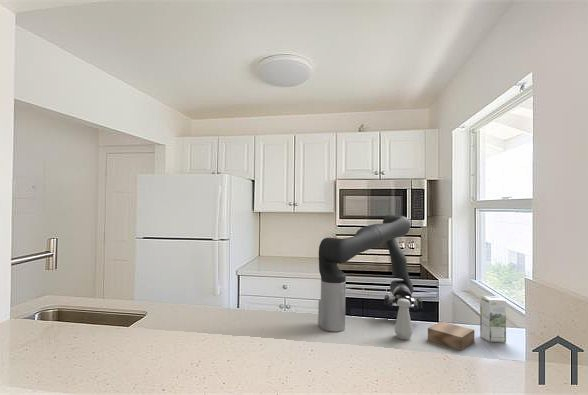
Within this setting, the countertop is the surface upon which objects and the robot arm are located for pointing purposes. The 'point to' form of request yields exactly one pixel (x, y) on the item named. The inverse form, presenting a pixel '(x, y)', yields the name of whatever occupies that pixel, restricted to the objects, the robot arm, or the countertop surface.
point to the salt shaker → (403, 320)
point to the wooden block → (451, 335)
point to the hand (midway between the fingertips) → (403, 306)
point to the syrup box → (493, 318)
